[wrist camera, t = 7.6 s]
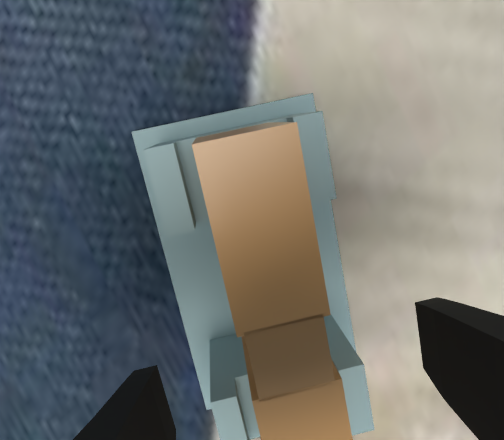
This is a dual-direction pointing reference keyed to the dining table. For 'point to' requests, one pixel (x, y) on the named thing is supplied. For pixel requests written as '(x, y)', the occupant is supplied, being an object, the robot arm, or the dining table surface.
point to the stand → (208, 267)
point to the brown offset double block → (274, 278)
